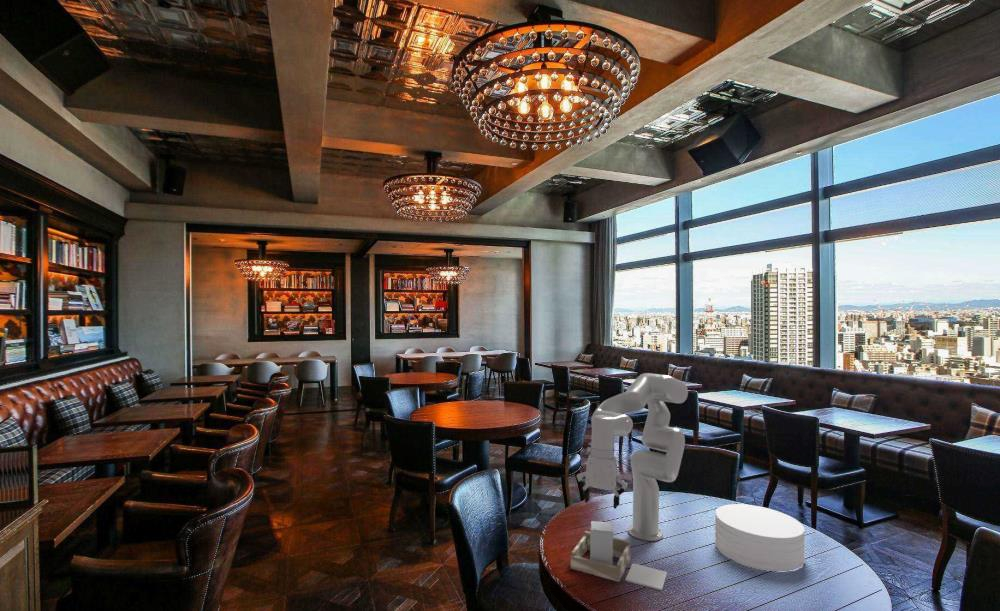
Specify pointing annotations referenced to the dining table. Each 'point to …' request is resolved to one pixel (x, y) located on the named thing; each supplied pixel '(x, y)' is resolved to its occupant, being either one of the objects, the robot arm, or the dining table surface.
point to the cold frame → (597, 568)
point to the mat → (646, 576)
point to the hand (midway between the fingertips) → (601, 504)
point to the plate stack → (759, 537)
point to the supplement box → (601, 542)
